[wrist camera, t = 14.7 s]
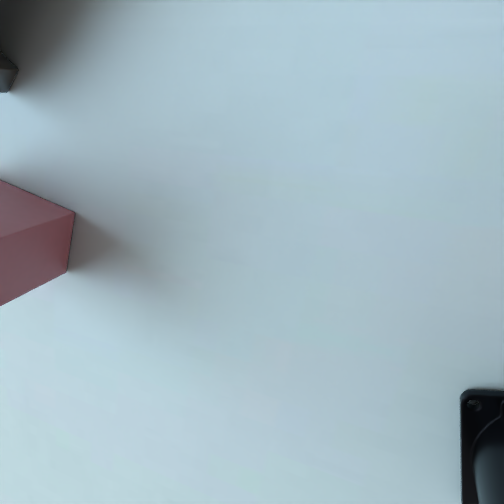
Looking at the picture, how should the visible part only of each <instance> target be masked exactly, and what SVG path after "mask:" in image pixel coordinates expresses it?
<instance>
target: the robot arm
mask: <svg viewBox="0 0 504 504" xmlns="http://www.w3.org/2000/svg"><path fill="white" fill-rule="evenodd" d="M470 400H476V401H478V403H477V404H474V405H472V404H469V403H468V402H469V401H470ZM460 445H461V502H462V504H504V391H493V390H474V389H471V390H466V391H464V392H463V393H462V394H461V396H460Z"/></svg>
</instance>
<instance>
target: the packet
mask: <svg viewBox="0 0 504 504" xmlns="http://www.w3.org/2000/svg"><path fill="white" fill-rule="evenodd" d="M74 217H75V212H73V211H70V210H68V209H66V208H63V207H61V206H59V205H56V204H54V203H52V202H50V201H47V200H45V199H43V198H40V197H38V196H36V195H33V194H31V193H29V192H27V191H24V190H22V189H20V188H17V187H15V186H13V185H10V184H8V183H6V182H4V181H1V180H0V306H2V305H4V304H6V303H8V302H9V301H11V300H13V299H15V298H17V297H19V296H21V295H23V294H25V293H27V292H29V291H31V290H33V289H35V288H37V287H39V286H41V285H43V284H45V283H46V282H48V281H50V280H52V279H54V278H56V277H58V276H60V275H62V274H64V273H66V270H67V263H68V257H69V250H70V243H71V237H72V230H73V223H74Z"/></svg>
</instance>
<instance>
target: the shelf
mask: <svg viewBox="0 0 504 504" xmlns="http://www.w3.org/2000/svg"><path fill="white" fill-rule="evenodd" d="M17 73H18V69H17V68H16V67H15V66H14V65H13V64H12V63H11V62H10V61H9V60H8V59H7V58H6V57H5V56H4V55H3V54H2V53H1V52H0V93H7V92H8V90H9V88H10V86H11V84H12V82H13V81H14V79H15V77H16V75H17Z"/></svg>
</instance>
